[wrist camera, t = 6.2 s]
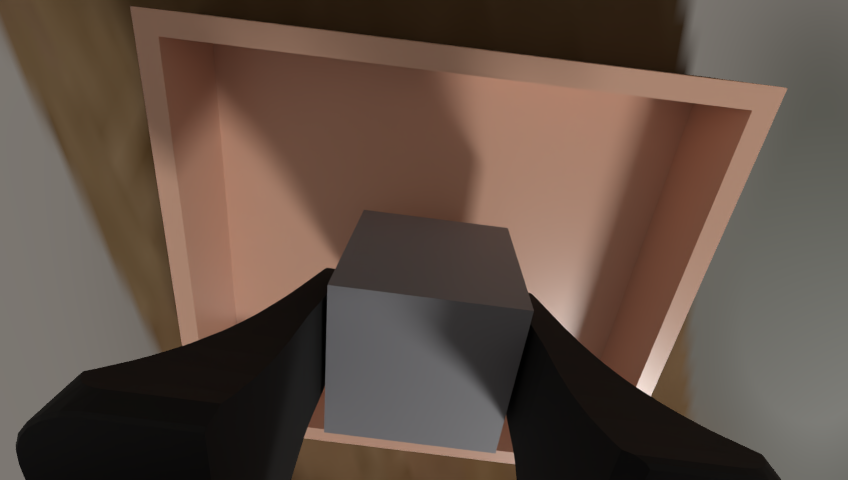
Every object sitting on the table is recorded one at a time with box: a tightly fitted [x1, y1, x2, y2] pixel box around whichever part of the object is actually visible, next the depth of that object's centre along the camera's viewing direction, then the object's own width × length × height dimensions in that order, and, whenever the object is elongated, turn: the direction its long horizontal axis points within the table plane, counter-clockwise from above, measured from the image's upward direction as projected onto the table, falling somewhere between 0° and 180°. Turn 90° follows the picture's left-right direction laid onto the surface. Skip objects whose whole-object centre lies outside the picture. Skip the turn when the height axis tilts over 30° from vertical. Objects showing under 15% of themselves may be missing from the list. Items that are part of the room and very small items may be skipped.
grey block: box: [324, 210, 534, 453], centre depth 12 cm, size 4×4×4 cm
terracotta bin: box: [130, 6, 787, 464], centre depth 15 cm, size 14×16×3 cm
